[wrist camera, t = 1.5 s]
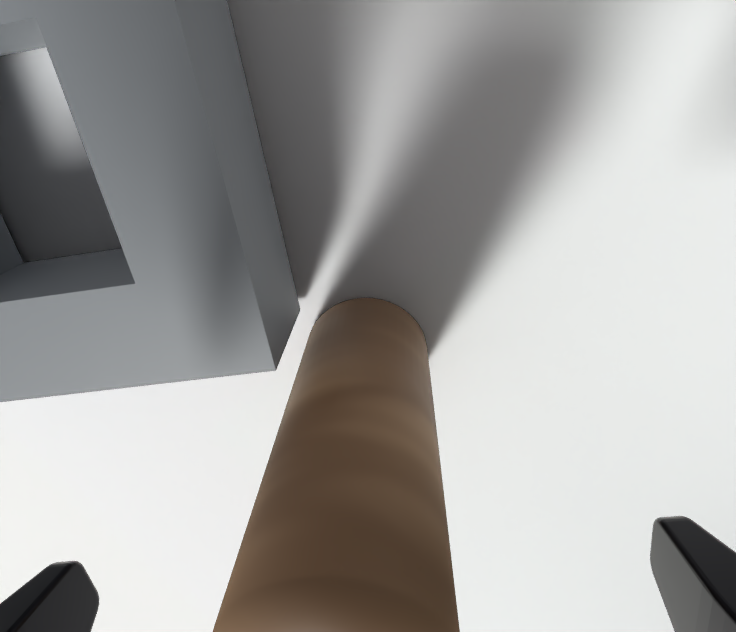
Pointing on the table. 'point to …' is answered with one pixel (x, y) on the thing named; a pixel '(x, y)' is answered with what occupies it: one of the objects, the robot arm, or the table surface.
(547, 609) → the table surface
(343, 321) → the peg
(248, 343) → the socket
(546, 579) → the table surface
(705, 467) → the table surface
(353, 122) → the table surface
